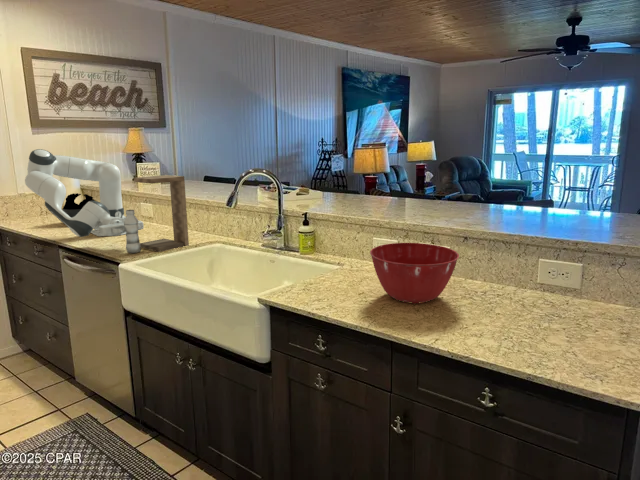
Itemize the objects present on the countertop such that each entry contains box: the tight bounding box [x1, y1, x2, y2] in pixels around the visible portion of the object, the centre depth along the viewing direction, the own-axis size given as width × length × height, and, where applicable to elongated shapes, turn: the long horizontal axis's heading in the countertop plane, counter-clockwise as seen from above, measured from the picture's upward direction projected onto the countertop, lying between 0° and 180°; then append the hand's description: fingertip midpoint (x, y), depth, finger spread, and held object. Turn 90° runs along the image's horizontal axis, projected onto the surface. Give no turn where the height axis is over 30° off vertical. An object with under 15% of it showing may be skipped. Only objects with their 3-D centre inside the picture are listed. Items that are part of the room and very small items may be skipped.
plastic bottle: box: [124, 209, 142, 254], centre depth 225 cm, size 6×7×20 cm
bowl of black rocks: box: [62, 192, 96, 218], centre depth 303 cm, size 20×20×19 cm
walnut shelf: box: [133, 174, 190, 253], centre depth 235 cm, size 16×18×34 cm
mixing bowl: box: [369, 242, 460, 304], centre depth 161 cm, size 28×28×15 cm
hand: (130, 229), depth 224 cm, fingers open, 8 cm apart
